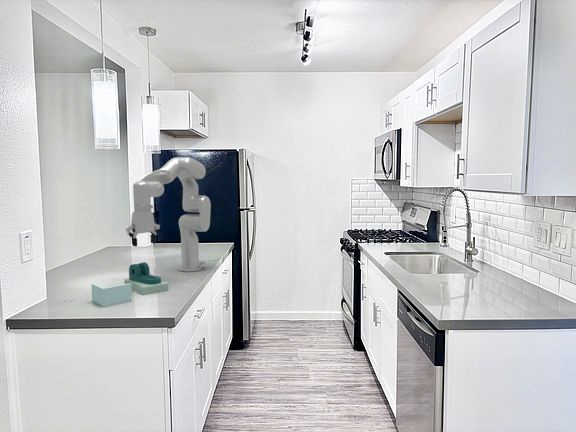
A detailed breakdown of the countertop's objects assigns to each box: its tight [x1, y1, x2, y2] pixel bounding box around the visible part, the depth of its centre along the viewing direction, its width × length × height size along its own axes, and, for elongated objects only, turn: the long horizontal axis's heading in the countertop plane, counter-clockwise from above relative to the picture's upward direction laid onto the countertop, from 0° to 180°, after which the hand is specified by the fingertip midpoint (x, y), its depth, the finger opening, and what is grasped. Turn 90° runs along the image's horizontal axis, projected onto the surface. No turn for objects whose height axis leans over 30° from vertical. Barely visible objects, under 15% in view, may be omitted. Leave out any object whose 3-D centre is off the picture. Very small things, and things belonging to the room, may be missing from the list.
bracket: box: [128, 261, 162, 285], centre depth 205 cm, size 18×7×8 cm, turn 53°
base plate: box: [124, 278, 169, 296], centre depth 205 cm, size 12×22×4 cm, turn 42°
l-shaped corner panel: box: [91, 283, 133, 308], centre depth 184 cm, size 12×12×8 cm
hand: (144, 244), depth 204 cm, fingers open, 9 cm apart
